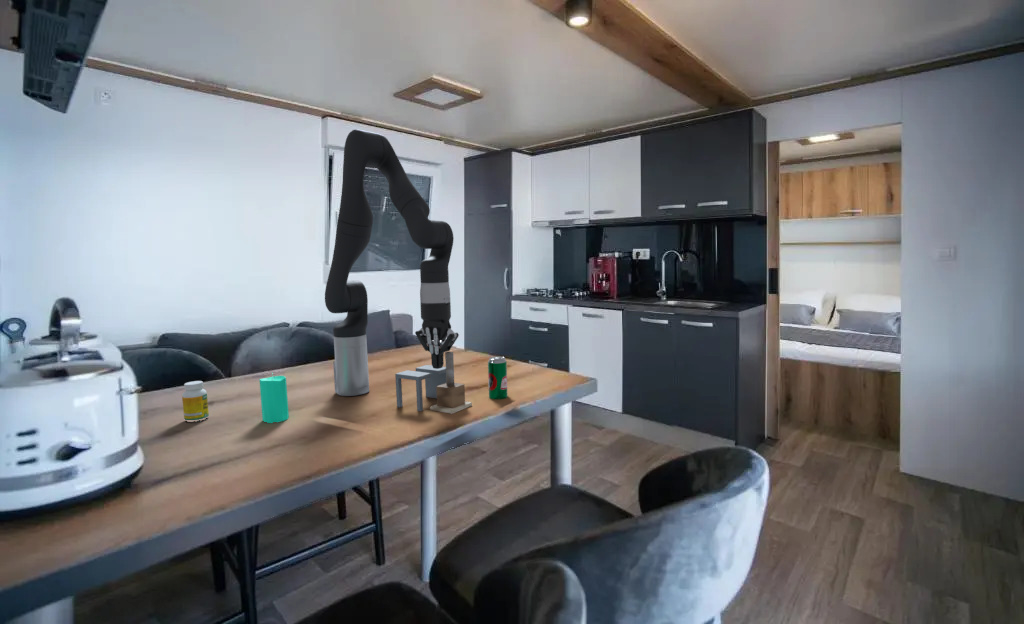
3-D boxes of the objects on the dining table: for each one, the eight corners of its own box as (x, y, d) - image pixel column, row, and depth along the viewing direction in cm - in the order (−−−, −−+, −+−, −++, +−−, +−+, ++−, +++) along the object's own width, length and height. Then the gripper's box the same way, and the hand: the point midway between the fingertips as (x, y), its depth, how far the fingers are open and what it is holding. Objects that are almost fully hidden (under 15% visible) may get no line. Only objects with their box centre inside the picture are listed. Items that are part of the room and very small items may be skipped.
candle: (262, 424, 124) (259, 376, 123) (262, 418, 129) (258, 371, 128) (289, 420, 127) (286, 372, 125) (288, 414, 132) (284, 368, 131)
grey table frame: (364, 407, 137) (362, 370, 135) (402, 394, 148) (400, 360, 147) (442, 422, 122) (440, 381, 121) (477, 407, 134) (475, 369, 133)
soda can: (505, 404, 136) (504, 360, 134) (487, 403, 137) (485, 359, 135) (509, 399, 141) (508, 356, 139) (491, 398, 142) (490, 356, 140)
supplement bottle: (185, 418, 130) (182, 381, 129) (210, 415, 133) (206, 379, 132) (183, 424, 125) (179, 386, 124) (208, 421, 128) (204, 383, 127)
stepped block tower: (430, 409, 128) (427, 354, 126) (450, 401, 135) (448, 348, 133) (452, 413, 124) (449, 356, 123) (471, 405, 131) (470, 350, 129)
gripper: (405, 301, 129) (408, 368, 131) (446, 302, 122) (448, 373, 124) (425, 298, 135) (428, 362, 137) (465, 300, 128) (467, 367, 130)
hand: (437, 367), depth 130 cm, fingers closed
